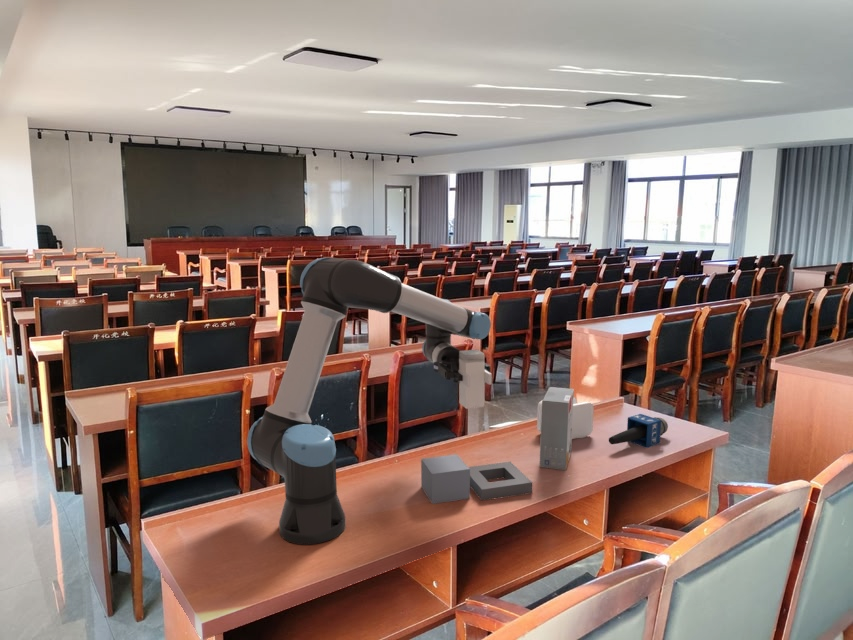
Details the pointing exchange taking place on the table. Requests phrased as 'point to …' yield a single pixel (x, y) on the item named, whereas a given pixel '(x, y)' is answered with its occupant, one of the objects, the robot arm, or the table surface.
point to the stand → (445, 478)
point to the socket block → (490, 490)
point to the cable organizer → (575, 418)
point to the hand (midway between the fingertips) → (479, 380)
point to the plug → (472, 378)
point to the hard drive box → (556, 428)
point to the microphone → (641, 431)
